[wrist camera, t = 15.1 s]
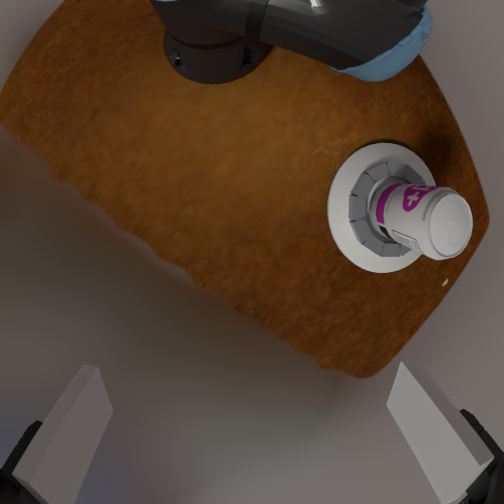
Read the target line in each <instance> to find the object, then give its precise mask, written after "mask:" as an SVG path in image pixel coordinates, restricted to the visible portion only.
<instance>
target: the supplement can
mask: <svg viewBox="0 0 504 504" xmlns="http://www.w3.org/2000/svg"><path fill="white" fill-rule="evenodd" d="M369 217H370V221H371V223H372V225H373V227H374V229H375V230H376V231H377V232H379V233H380V234H381V235H383V236H385V237H388V238H390V239H392V240H394V241H396V242H399V243H401V244H403V245H405V246H407V247H409V248H411V249H414V250H416V251H418V252H420V253H422V254H424V255H426V256H428V257H431V258H433V259H436V260H441V259H447V258H452V257H455V256H456V255H458V254H460V253H461V252H462V251H463V249H464V248H465V247H466V246H467V243H468V241H469V239H470V237H471V232H472V226H473V224H472V214H471V210H470V207H469V205H468V204H467V202H466V201H465V200H464V198H462V197H461V196H460V195H459V194H458V193H457V192H456V191H454V190H452V189H450V188H447V187H438V186H428V185H418V184H407V183H386V184H384V185H381V186H380V187H379V188H378V189H377V190H376V191H375V192H374V193H373V196H372V198H371V200H370V204H369Z"/></svg>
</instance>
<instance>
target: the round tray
mask: <svg viewBox="0 0 504 504" xmlns="http://www.w3.org/2000/svg"><path fill="white" fill-rule="evenodd" d="M386 183H407V184H418V185H428V186H436V184H435V181H434V179H433V176H432V174H431V172H430V171H429V169H428V167H427V166H426V165H425V163H424V162H423V161H422V160H421V159H420V158H419V157H418V156H417V155H416V154H415V153H413V152H412V151H410V150H409V149H407V148H405V147H402V146H400V145H396V144H392V143H377V144H372V145H368V146H365V147H363V148H360V149H359V150H357V151H355V152H354V153H352V154H351V155H350V156H349V157H347V158H346V159H345V161H344V162H343V163H342V164H341V165H340V167H339V168H338V170H337V171H336V173H335V175H334V177H333V179H332V182H331V185H330V188H329V192H328V197H327V219H328V225H329V228H330V232H331V234H332V237H333V239H334V241H335V243H336V245H337V246H338V248H339V249H340V250H341V252H342V253H343V254H344V255H345V256H346V257H347V258H348V259H349V260H351V261H352V262H353V263H355V264H356V265H357V266H359V267H361V268H363V269H365V270H368V271H372V272H377V273H387V272H393V271H397V270H400V269H402V268H404V267H406V266H408V265H409V264H411V263H412V262H414V261H415V260H416V259H417V258H418V257H419V256H420V255H421V254H422V253H420V252H418V251H416V250H414V249H411V248H409V247H407V246H405V245H403V244H401V243H399V242H396V241H394V240H392V239H390V238H388V237H385V236H383V235H381V234H380V233H379V232H377V231H376V230H375V229H374V227H373V225H372V223H371V221H370V217H369V204H370V200H371V198H372V196H373V193H374V192H375V191H376V190H377V189H378V188H379V187H380V186H381V185H384V184H386Z"/></svg>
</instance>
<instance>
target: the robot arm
mask: <svg viewBox="0 0 504 504" xmlns="http://www.w3.org/2000/svg"><path fill="white" fill-rule="evenodd" d="M150 1H151V3H152V5H153V6H154V8H155V10H156V11H157V13H158V15H159V17H160V19H161V20H162V22H163V24H164V26H165V32H164V38H163V47H164V52H165V55H166V57H167V59H168V61H169V62H170V64H171V65H172V67H173V68H174V69H175V70H176V71H177V72H178V73H179V74H180V75H182V76H183V77H185V78H187V79H189V80H192V81H195V82H198V83H204V84H221V83H227V82H231V81H234V80H237V79H239V78H242V77H244V76H245V75H247V74H249V73H250V72H251V71H253V70H254V69H255V68H256V67H257V66H258V65H259V64H260V63H261V61H262V60H263V58H264V56H265V54H266V52H267V48H268V44H271V45H274V46H278V47H281V48H284V49H287V50H289V51H292V52H295V53H298V54H301V55H303V56H306V57H309V58H311V59H314V60H316V61H319V62H321V63H324V64H326V65H329V66H330V68H331V69H333V70H335V71H338V72H345V73H347V74H350V75H352V76H354V77H357V78H359V79H361V80H364V81H369V82H370V81H373V82H375V81H376V82H378V81H383V80H386V79H388V78H391V77H392V76H394V75H396V74H397V73H399V72H400V71H402V70H403V69H404V68H405V67H406V66H408V65H409V64H410V63H411V62H412V61H413V60H414V59H415V57H416V56H417V55H418V54H419V52H420V51H421V50H422V48H423V47H424V45H425V43H424V41H423V40H425V39H426V38H427V37H428V36H429V35H430V32H431V29H432V16H431V13H430V11H429V10H428V9H427V7H426V6H425V3H426V2H427V1H428V0H150ZM386 405H387V407H388V409H389V411H390V412H391V414H392V415H393V417H394V419H395V421H396V422H397V424H398V426H399V428H400V429H401V431H402V433H403V435H404V436H405V438H406V440H407V442H408V443H409V445H410V447H411V449H412V451H413V452H414V454H415V456H416V458H417V459H418V461H419V463H420V465H421V467H422V468H423V470H424V472H425V474H426V476H427V478H428V479H429V481H430V483H431V485H432V487H433V489H434V491H435V493H436V494H437V496H438V498H439V500H440V502H441V504H448V503H450V502H452V501H454V500H456V499H458V498H459V497H460V496H461V495H462V494H463V493H464V492H465V491H466V492H467V494H468V495H467V496H466V497H465V498H464V499H463V500H462V501H461V502H460V503H459V504H504V452H503V451H502V450H501V449H500V448H499V446H498V445H497V444H496V442H495V441H494V440H493V439H492V437H491V436H490V435H489V434H488V432H487V431H486V430H484V427H483V426H482V425H481V424H479V421H478V420H477V419H476V418H475V416H474V415H473V414H471V413H469V412H468V411H466V410H465V409H462V410H460V411H459V410H458V409H457V408H456V407H455V406H454V405H453V403H452V402H451V401H450V399H449V398H448V397H447V396H446V395H445V393H444V392H443V391H442V390H441V389H440V387H439V386H438V385H437V384H436V383H435V382H434V380H433V379H432V378H431V377H430V376H429V374H428V373H427V372H426V371H425V370H424V369H423V367H422V366H421V365H420V364H419V363H418V362H417V361H416V359H414V358H413V359H408V360H403V361H401V363H400V366H399V369H398V372H397V376H396V379H395V382H394V385H393V388H392V391H391V394H390V396H389V399H388V402H387V404H386ZM112 413H113V408H112V406H111V403H110V400H109V398H108V395H107V392H106V389H105V386H104V384H103V380H102V377H101V374H100V371H99V368H98V366H92V365H85V364H84V365H83V366H82V367H81V369H80V370H79V371H78V373H77V374H76V375H75V377H74V378H73V380H72V381H71V383H70V384H69V385H68V387H67V388H66V390H65V391H64V392H63V394H62V395H61V397H60V398H59V400H58V401H57V403H56V404H55V406H54V407H53V409H52V410H51V412H50V413H49V415H48V416H47V418H46V419H45V421H44V422H40V421H36V422H34V423H33V424H32V425H31V426H29V427H28V428H27V430H26V431H25V433H24V434H23V437H22V438H21V439H20V440H19V442H18V445H16V446H15V448H14V449H13V451H12V453H11V454H10V456H9V457H8V459H7V461H6V462H5V464H4V465H3V467H2V468H1V469H0V504H74V503H75V500H76V497H77V495H78V492H79V490H80V487H81V485H82V482H83V480H84V477H85V475H86V473H87V470H88V468H89V465H90V463H91V461H92V458H93V456H94V454H95V451H96V449H97V447H98V444H99V442H100V440H101V438H102V435H103V433H104V431H105V429H106V427H107V424H108V422H109V420H110V418H111V416H112Z"/></svg>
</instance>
